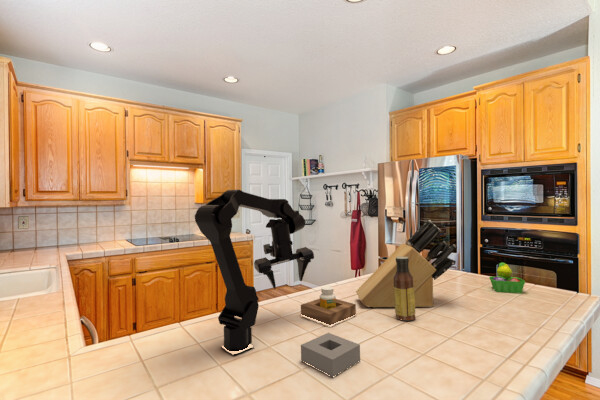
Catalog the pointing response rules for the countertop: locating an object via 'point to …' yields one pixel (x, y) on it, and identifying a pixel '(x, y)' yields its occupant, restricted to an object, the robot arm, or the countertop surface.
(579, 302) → the countertop surface
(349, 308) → the walnut sleeve block
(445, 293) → the countertop surface
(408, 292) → the sauce bottle
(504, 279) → the fruit basket
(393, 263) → the knife block
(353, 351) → the grey narrow collar
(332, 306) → the supplement bottle
